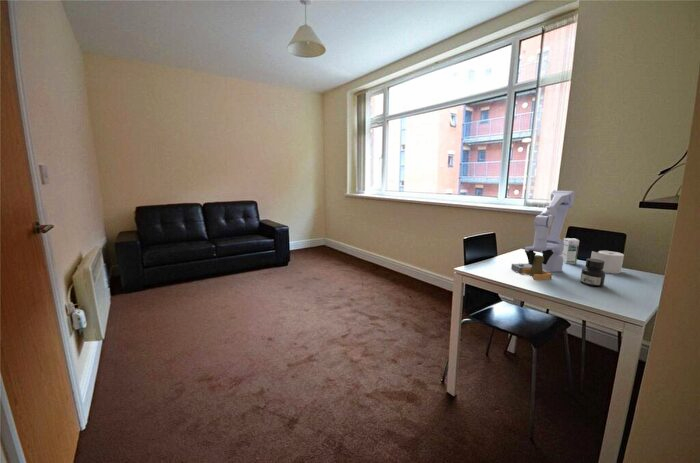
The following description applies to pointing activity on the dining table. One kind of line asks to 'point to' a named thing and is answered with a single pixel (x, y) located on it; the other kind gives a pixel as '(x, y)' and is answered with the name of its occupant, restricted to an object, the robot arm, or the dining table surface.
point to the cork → (537, 265)
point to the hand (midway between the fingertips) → (537, 264)
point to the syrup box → (570, 250)
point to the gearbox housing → (526, 269)
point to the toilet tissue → (609, 260)
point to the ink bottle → (593, 273)
